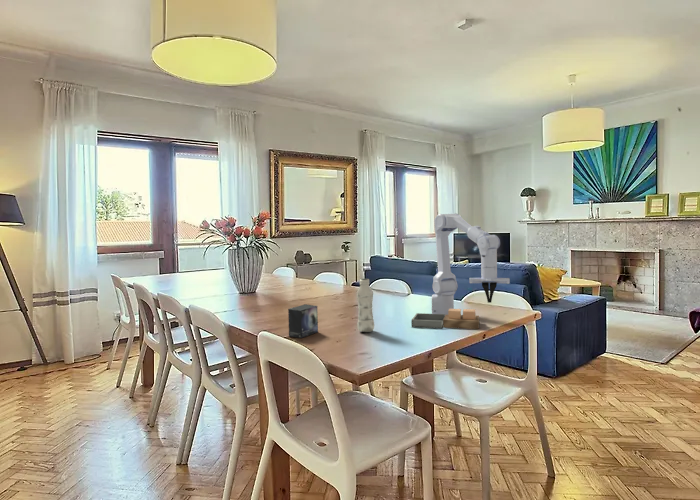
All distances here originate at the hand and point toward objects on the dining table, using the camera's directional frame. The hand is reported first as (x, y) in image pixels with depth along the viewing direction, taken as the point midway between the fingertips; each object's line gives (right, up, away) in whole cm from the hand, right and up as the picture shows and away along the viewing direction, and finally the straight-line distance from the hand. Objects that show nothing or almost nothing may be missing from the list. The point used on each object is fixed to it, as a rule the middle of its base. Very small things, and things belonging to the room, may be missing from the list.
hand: (489, 302), depth 167 cm
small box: (-71, -12, -3) cm, 72 cm away
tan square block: (-12, -7, +4) cm, 14 cm away
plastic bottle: (-47, -11, -2) cm, 49 cm away
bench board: (-10, -10, +4) cm, 14 cm away
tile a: (-7, -7, +3) cm, 10 cm away
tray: (-22, -10, +8) cm, 25 cm away
